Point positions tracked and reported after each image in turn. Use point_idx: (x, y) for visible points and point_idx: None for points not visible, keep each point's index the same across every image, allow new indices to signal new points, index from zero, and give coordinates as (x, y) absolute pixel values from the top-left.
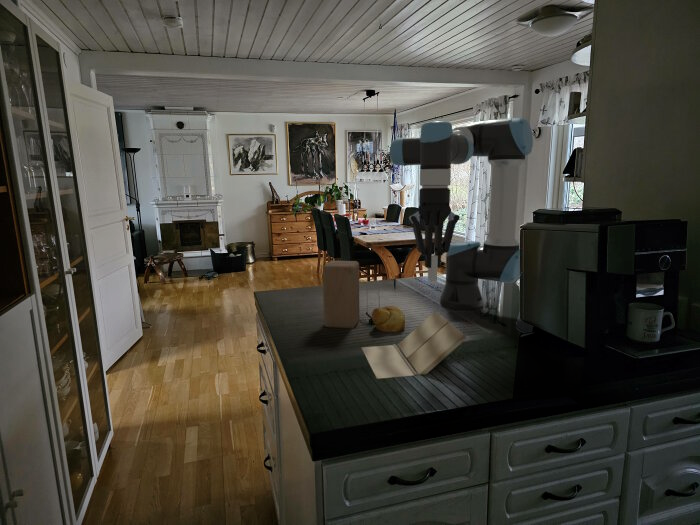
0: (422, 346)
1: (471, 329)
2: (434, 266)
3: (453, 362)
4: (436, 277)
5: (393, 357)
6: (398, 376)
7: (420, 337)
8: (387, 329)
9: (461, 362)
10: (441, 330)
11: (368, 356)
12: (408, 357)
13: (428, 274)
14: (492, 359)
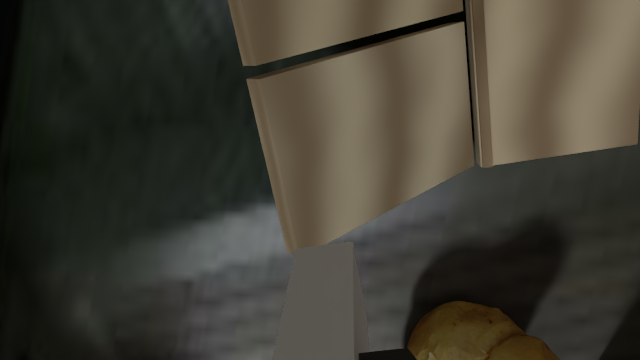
0: (403, 21)
1: (146, 334)
2: (316, 344)
3: None
4: (298, 267)
5: (521, 29)
6: None
7: (397, 106)
8: (485, 311)
9: None
10: (306, 38)
11: (630, 42)
12: (456, 23)
13: (367, 346)
14: (107, 47)
